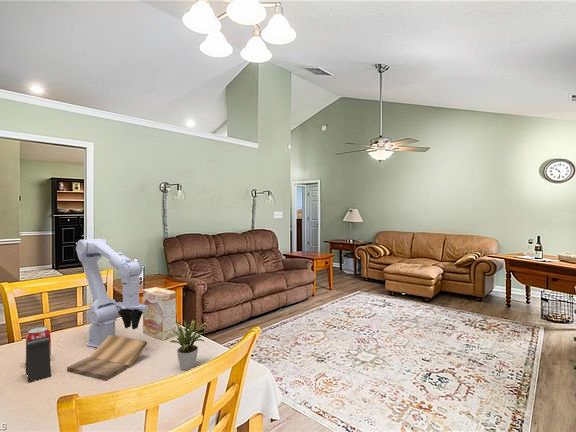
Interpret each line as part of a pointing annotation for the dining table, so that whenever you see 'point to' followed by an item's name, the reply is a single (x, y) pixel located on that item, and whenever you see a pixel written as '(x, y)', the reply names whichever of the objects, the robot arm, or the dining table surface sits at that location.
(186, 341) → the house plant
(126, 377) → the dining table surface
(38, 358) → the phone stand
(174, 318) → the coffeecake box
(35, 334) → the soda can
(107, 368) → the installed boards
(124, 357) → the teak plank
